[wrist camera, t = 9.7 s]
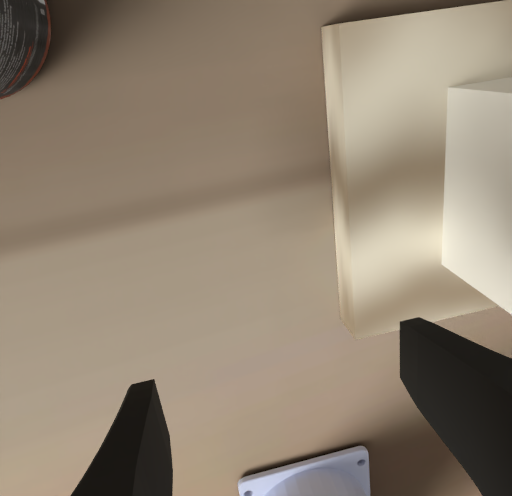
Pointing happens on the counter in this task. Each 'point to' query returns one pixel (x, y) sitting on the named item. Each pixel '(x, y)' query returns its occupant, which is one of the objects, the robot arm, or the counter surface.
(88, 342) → the counter surface
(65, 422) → the counter surface
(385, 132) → the stand
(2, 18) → the supplement bottle
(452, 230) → the housing
